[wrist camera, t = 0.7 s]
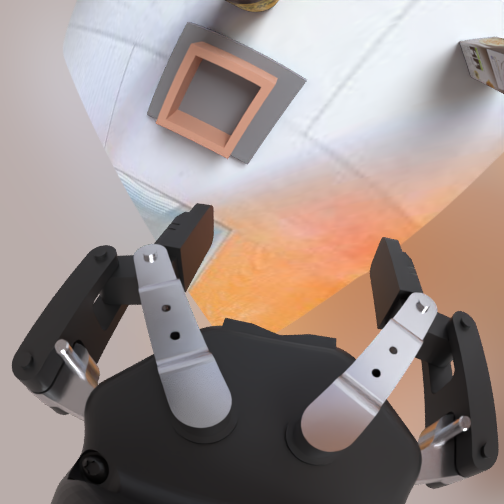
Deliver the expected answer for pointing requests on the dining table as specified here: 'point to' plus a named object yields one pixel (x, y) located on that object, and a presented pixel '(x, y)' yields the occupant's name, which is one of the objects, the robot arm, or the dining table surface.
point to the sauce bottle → (253, 4)
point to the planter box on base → (222, 93)
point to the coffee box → (485, 60)
